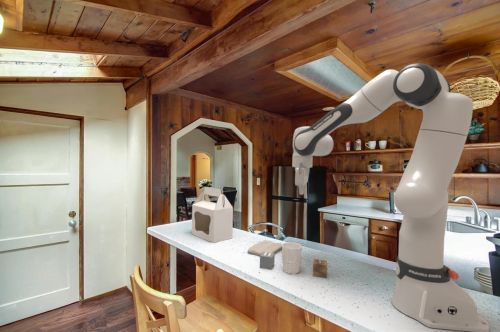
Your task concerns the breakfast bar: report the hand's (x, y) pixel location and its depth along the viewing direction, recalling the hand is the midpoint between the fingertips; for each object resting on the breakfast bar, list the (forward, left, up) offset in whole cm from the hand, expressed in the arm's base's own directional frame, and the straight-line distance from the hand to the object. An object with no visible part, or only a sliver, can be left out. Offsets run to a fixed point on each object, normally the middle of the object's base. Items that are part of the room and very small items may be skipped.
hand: (301, 194), depth 110 cm
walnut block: (-9, +13, -29) cm, 33 cm away
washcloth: (+16, -5, -30) cm, 34 cm away
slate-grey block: (+12, +13, -29) cm, 34 cm away
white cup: (+2, +13, -29) cm, 32 cm away
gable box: (+52, -16, -29) cm, 62 cm away
